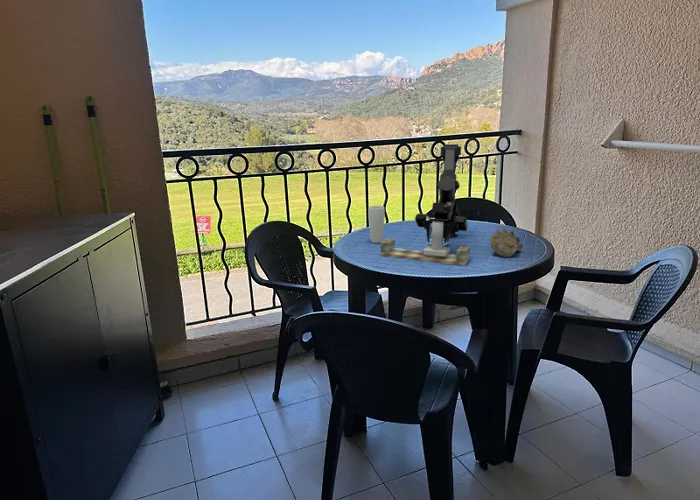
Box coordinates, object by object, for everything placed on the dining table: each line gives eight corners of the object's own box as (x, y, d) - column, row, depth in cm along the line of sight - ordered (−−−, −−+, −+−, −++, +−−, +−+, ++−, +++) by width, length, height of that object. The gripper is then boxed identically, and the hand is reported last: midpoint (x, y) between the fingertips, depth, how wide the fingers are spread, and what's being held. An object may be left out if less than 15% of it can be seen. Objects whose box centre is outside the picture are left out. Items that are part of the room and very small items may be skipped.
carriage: (423, 254, 160) (424, 223, 157) (429, 248, 166) (429, 219, 163) (445, 256, 157) (446, 225, 154) (450, 251, 163) (451, 221, 159)
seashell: (485, 259, 164) (487, 234, 161) (494, 245, 176) (496, 222, 172) (516, 264, 159) (519, 238, 155) (523, 249, 171) (526, 225, 167)
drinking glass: (383, 244, 183) (383, 208, 179) (367, 243, 185) (367, 208, 180) (385, 239, 190) (385, 205, 185) (370, 239, 191) (369, 205, 187)
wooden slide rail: (380, 255, 168) (380, 242, 166) (388, 250, 175) (388, 236, 173) (464, 265, 154) (465, 250, 152) (469, 259, 161) (469, 245, 159)
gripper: (417, 192, 163) (406, 227, 157) (467, 194, 155) (458, 232, 148) (423, 209, 172) (413, 243, 166) (471, 212, 164) (463, 248, 157)
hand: (436, 241), depth 159 cm, fingers open, 6 cm apart
